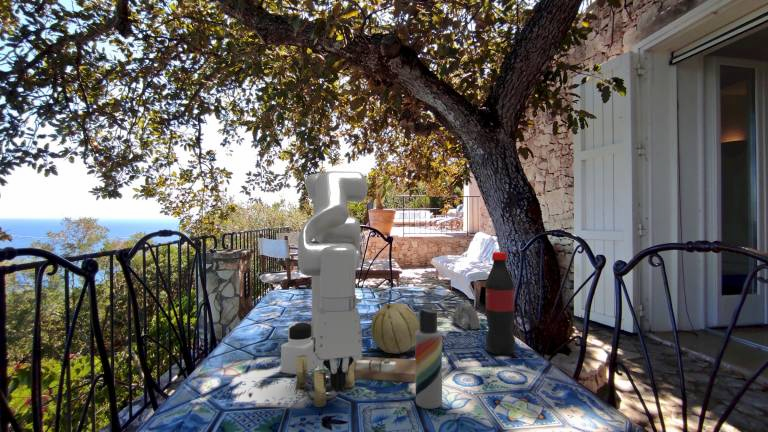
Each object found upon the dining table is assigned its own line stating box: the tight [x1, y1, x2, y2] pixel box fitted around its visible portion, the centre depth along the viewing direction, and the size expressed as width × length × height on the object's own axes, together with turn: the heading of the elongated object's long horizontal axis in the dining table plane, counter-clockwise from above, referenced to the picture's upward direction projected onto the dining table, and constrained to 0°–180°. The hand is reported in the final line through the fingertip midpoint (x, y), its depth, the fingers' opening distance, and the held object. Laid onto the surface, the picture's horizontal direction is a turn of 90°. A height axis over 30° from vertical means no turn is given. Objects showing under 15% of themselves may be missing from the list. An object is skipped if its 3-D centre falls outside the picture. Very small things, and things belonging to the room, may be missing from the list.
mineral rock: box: [452, 299, 481, 331], centre depth 148 cm, size 13×11×10 cm
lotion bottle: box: [414, 308, 443, 410], centre depth 84 cm, size 6×6×20 cm
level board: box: [336, 356, 415, 383], centre depth 102 cm, size 20×10×5 cm, turn 80°
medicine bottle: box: [280, 322, 318, 376], centre depth 104 cm, size 7×7×12 cm
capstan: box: [296, 355, 356, 408], centre depth 88 cm, size 12×14×7 cm
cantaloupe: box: [370, 302, 420, 355], centre depth 118 cm, size 15×15×15 cm
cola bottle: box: [484, 251, 516, 356], centre depth 117 cm, size 8×8×30 cm
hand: (337, 389), depth 84 cm, fingers closed
